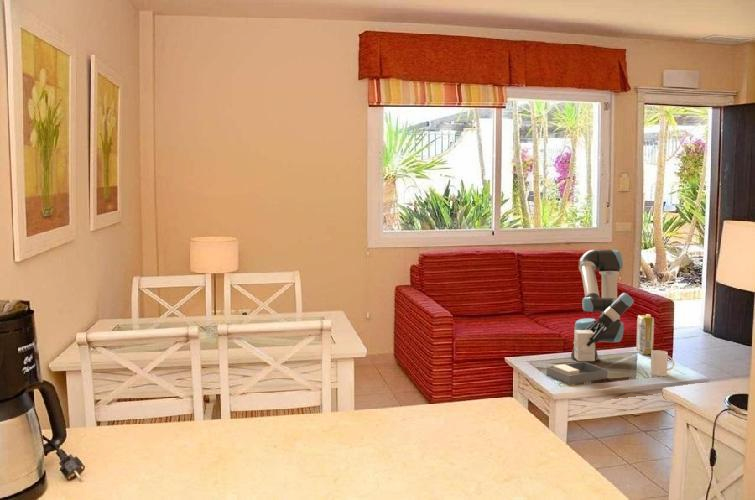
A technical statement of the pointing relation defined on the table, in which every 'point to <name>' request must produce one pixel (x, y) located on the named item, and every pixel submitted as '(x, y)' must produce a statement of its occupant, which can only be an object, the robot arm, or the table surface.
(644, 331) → the juice carton
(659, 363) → the mug
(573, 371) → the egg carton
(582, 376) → the tray
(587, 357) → the supplement box
